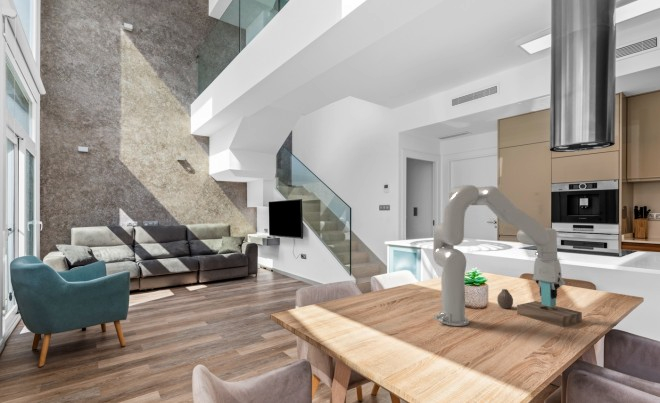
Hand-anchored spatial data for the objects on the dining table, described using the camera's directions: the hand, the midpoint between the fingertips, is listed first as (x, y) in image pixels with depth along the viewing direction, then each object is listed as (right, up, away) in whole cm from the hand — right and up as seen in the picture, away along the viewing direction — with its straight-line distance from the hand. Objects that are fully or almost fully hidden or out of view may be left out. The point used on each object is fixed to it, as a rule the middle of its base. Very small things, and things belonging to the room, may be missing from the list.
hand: (548, 296), depth 153 cm
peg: (0, -4, 0) cm, 4 cm away
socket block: (0, -9, 0) cm, 9 cm away
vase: (-11, -10, +16) cm, 22 cm away
